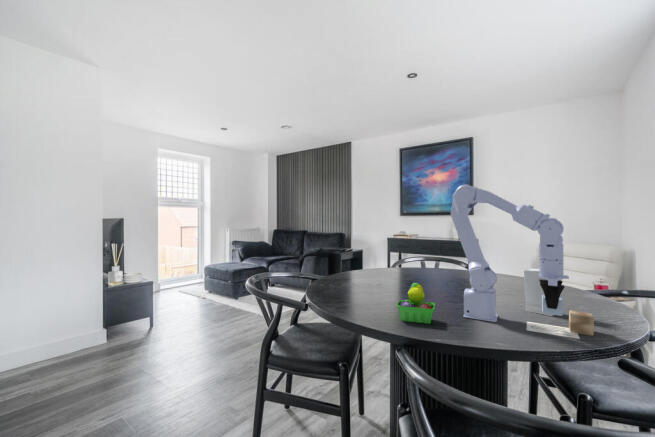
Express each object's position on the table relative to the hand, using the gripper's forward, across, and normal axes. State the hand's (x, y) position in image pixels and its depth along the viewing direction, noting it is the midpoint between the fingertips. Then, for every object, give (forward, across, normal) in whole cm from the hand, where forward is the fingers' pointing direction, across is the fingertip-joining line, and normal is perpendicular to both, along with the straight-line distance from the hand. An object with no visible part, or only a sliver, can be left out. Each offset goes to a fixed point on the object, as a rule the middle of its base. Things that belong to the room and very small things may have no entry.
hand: (551, 306), depth 89 cm
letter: (+7, 0, 0) cm, 7 cm away
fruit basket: (+7, -12, +36) cm, 39 cm away
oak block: (+7, +3, -7) cm, 10 cm away
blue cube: (+2, 0, 0) cm, 2 cm away
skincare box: (+7, +19, +2) cm, 20 cm away
